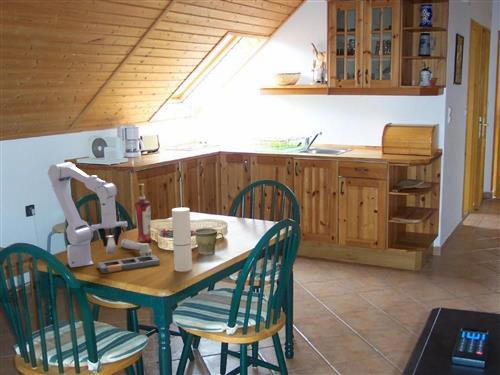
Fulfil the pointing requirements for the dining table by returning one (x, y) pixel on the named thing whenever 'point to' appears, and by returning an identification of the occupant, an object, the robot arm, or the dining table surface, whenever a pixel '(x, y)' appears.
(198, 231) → the ceramic cup
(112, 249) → the peg
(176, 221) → the cylindrical container
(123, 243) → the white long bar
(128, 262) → the grey slotted tray
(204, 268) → the dining table surface
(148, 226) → the liquor
